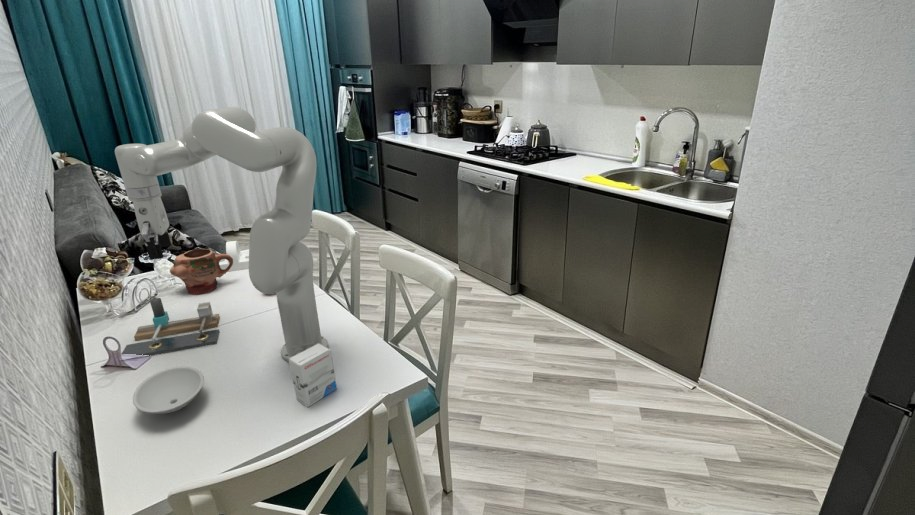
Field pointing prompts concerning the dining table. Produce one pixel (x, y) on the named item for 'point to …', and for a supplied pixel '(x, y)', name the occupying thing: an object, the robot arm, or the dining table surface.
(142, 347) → the hole plate
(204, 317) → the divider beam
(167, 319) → the sliding leg
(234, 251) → the tape dispenser
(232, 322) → the dining table surface
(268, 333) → the dining table surface
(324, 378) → the ink box
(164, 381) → the dish
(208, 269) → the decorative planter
